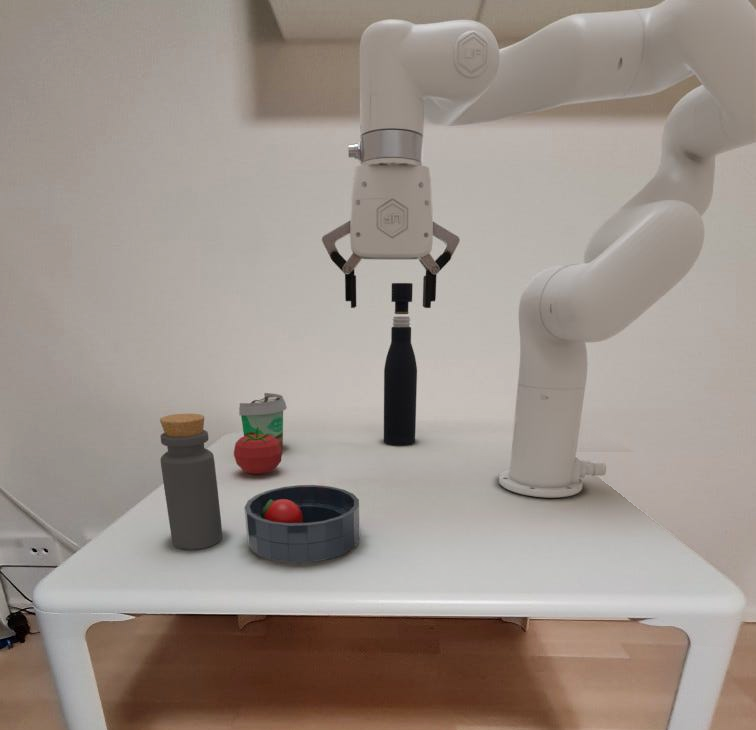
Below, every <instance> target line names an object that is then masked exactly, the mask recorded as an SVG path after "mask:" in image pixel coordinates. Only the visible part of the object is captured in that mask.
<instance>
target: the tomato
mask: <svg viewBox="0 0 756 730" xmlns="http://www.w3.org/2000/svg"><path fill="white" fill-rule="evenodd" d="M258 429H259V428H258V427H257V430H256V434H254V435H249V434H248V435H245V436H244V435H243V436H241V437H239V439H238V440H236V442H235V444H234V450H233V457H234V460H235V463H236V465H237V466H238V467H239V468H240V469H241V470H242V471H243V472H245V473H247V474H251V475H252V474H253V475H264V474H268V473H271V472H273V471H274V470H275V469H276V468H277V467H278V466H279V465H280V464H281V462H282V458H283V457H282V456H283V450H282V449H281V446H280V443H279V441H278V440H277V439H276V438H275V437H273V436H271V435H273V434H268V433H267V434H258Z"/></svg>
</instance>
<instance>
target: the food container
mask: <svg viewBox="0 0 756 730" xmlns="http://www.w3.org/2000/svg"><path fill="white" fill-rule="evenodd" d="M263 395H264V397H263V398H261V399H254V400H252V401H251V402H242V403H241V402H240V403H239V407H238V411H239V415H238V416H240V419H241V425H242V432H243V436H245V435H248V434H249V435H254V434H256V430H257V427H258V428H259V429H258V434H267V433H268V434H273V435H271V436H273V437H275V438H276V439H277V440H278V441H279V443H280V446H281V449H282V451H283V450H284V411H285V410H287V404H286V400H285V398H284V396H283V395H282V394H279V393H278V394H277V393H270V392H264V393H263Z"/></svg>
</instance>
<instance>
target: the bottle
mask: <svg viewBox="0 0 756 730" xmlns="http://www.w3.org/2000/svg"><path fill="white" fill-rule="evenodd" d="M159 421H160V424H161V427H162V430H163V432H162V433H161V434H160V444H161V445H163V446H165V447H167V451H165V453H163V454H162V455H161V457H160V469H161V476H162V484H163V488H164V497H165V503H166V509H167V510H166V511H167V516H168V522H169V523H168V524H169V530H170V535H171V536H170V537H171V541H172V545H173V546H174V547H175V548H178V549H181V550H189V551H190V550H193V551H195V550H202V549H206V548H210V547H213V546H214V545H215V546H216V545H217V544H218V543H220V542H221V541H222V539H223V528H222V527H223V525H222V517H221V509H220V508H221V507H220V500H219V499H220V498H219V490H218V489H219V488H218V480H217V472H216V461H215V456H214V453H213V452H212V451H210V450H209V449H207V448H205V443H207V442H208V441H209V433H208V430H205V429H204V428H205V427H204V426H205V415H203V414H199V413H177V414H176V413H175V414H169V415H165V416H162V417H161V418H160V419H159Z"/></svg>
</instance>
